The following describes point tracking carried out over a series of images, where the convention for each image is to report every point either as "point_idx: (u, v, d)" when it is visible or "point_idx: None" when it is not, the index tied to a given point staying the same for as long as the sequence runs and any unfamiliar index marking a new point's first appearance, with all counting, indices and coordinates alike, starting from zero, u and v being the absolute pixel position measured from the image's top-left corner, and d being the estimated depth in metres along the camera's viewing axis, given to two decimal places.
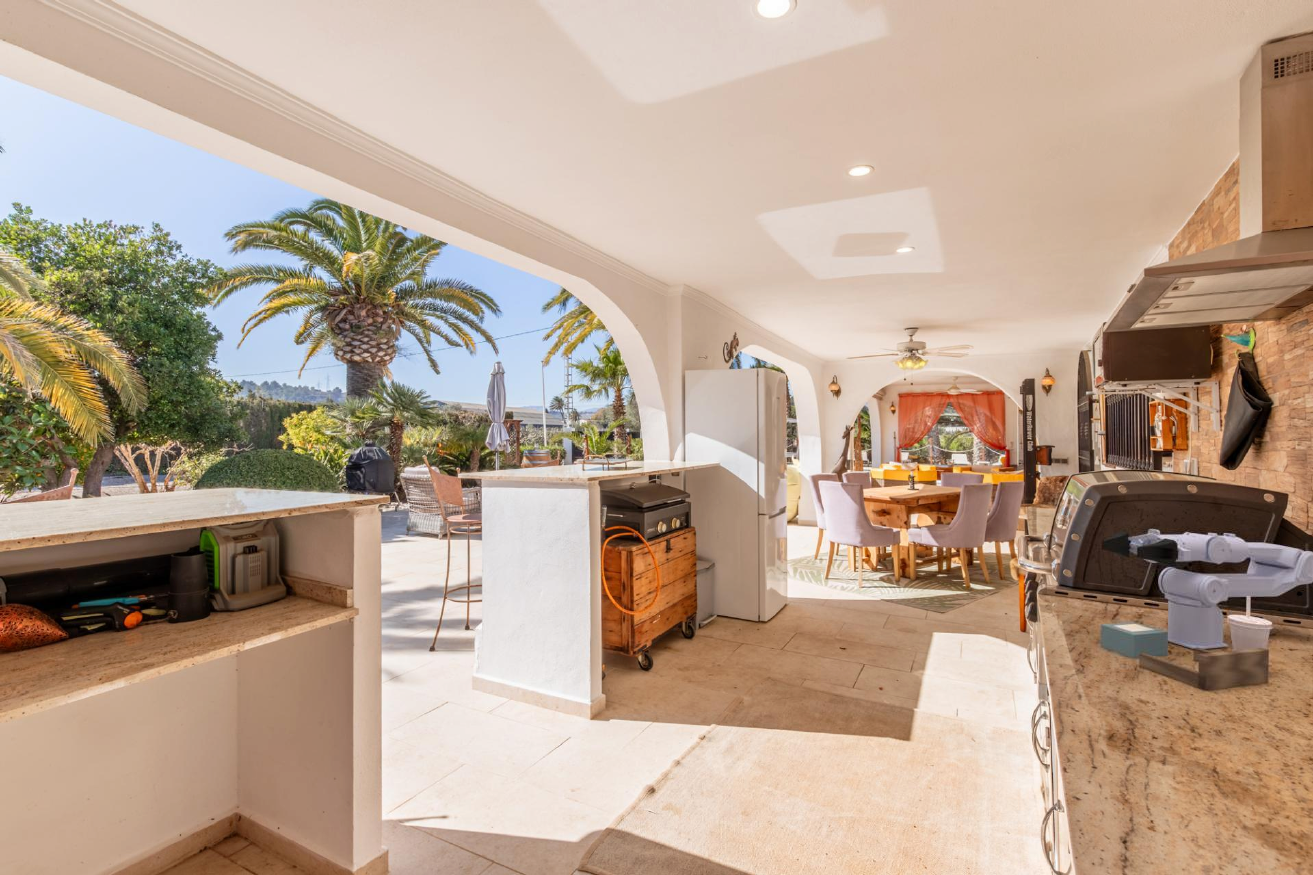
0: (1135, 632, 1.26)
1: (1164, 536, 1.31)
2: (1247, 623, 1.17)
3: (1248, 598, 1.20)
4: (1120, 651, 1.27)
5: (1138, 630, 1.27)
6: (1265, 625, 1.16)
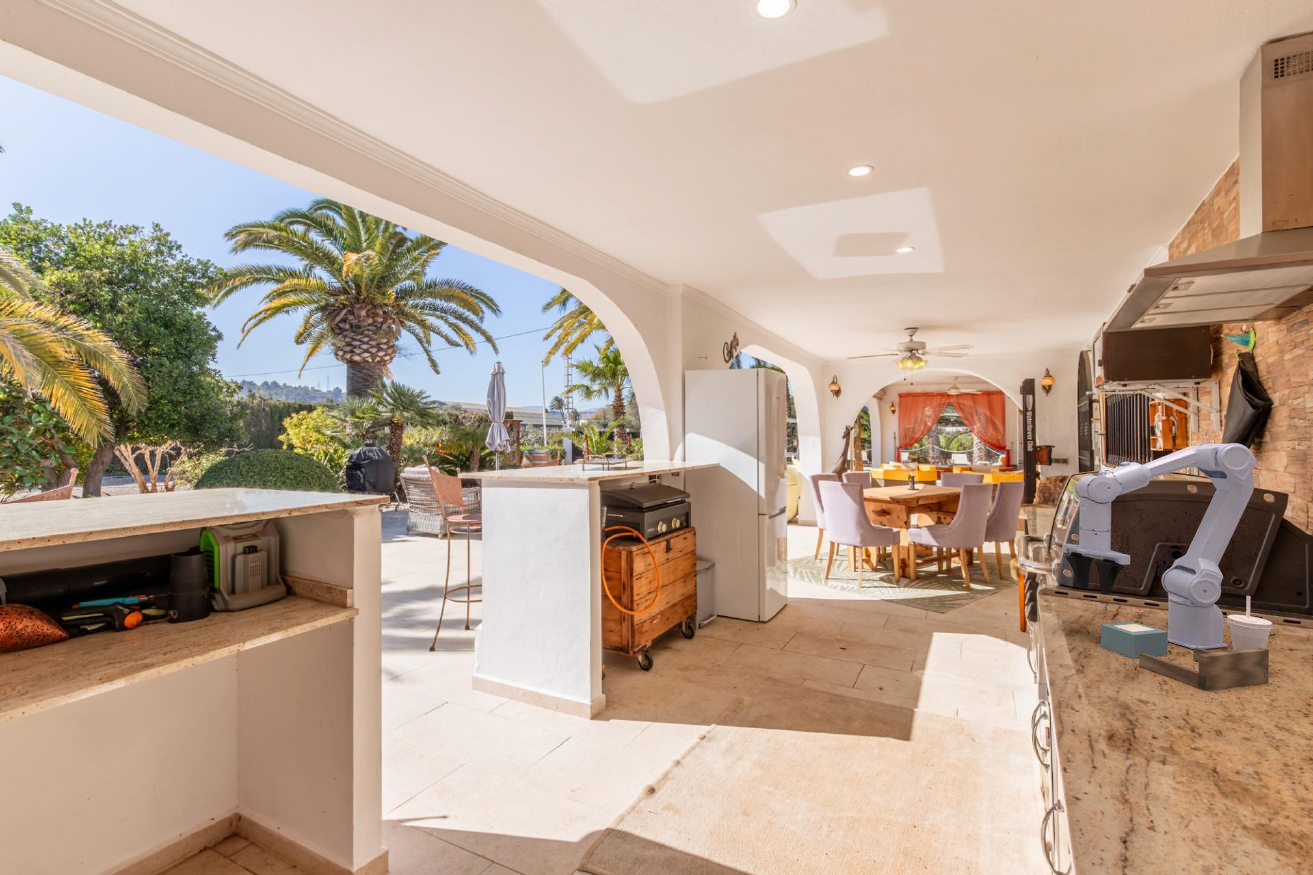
0: (1135, 632, 1.26)
1: (1088, 544, 1.36)
2: (1247, 623, 1.17)
3: (1248, 598, 1.20)
4: (1120, 651, 1.27)
5: (1138, 630, 1.27)
6: (1265, 625, 1.16)
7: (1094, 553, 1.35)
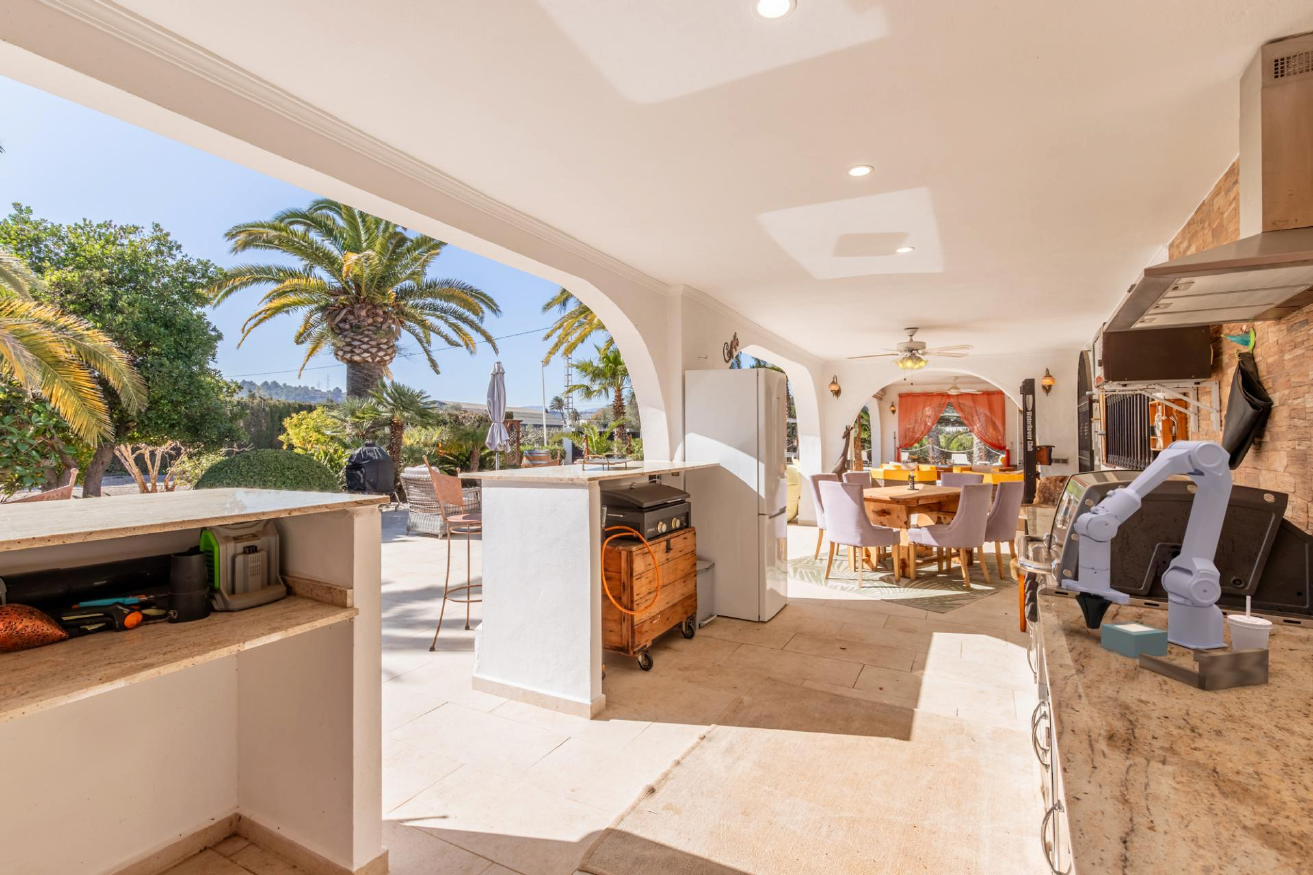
0: (1135, 632, 1.26)
1: (1088, 582, 1.36)
2: (1247, 623, 1.17)
3: (1248, 598, 1.20)
4: (1120, 651, 1.27)
5: (1138, 630, 1.27)
6: (1265, 625, 1.16)
7: (1093, 591, 1.35)
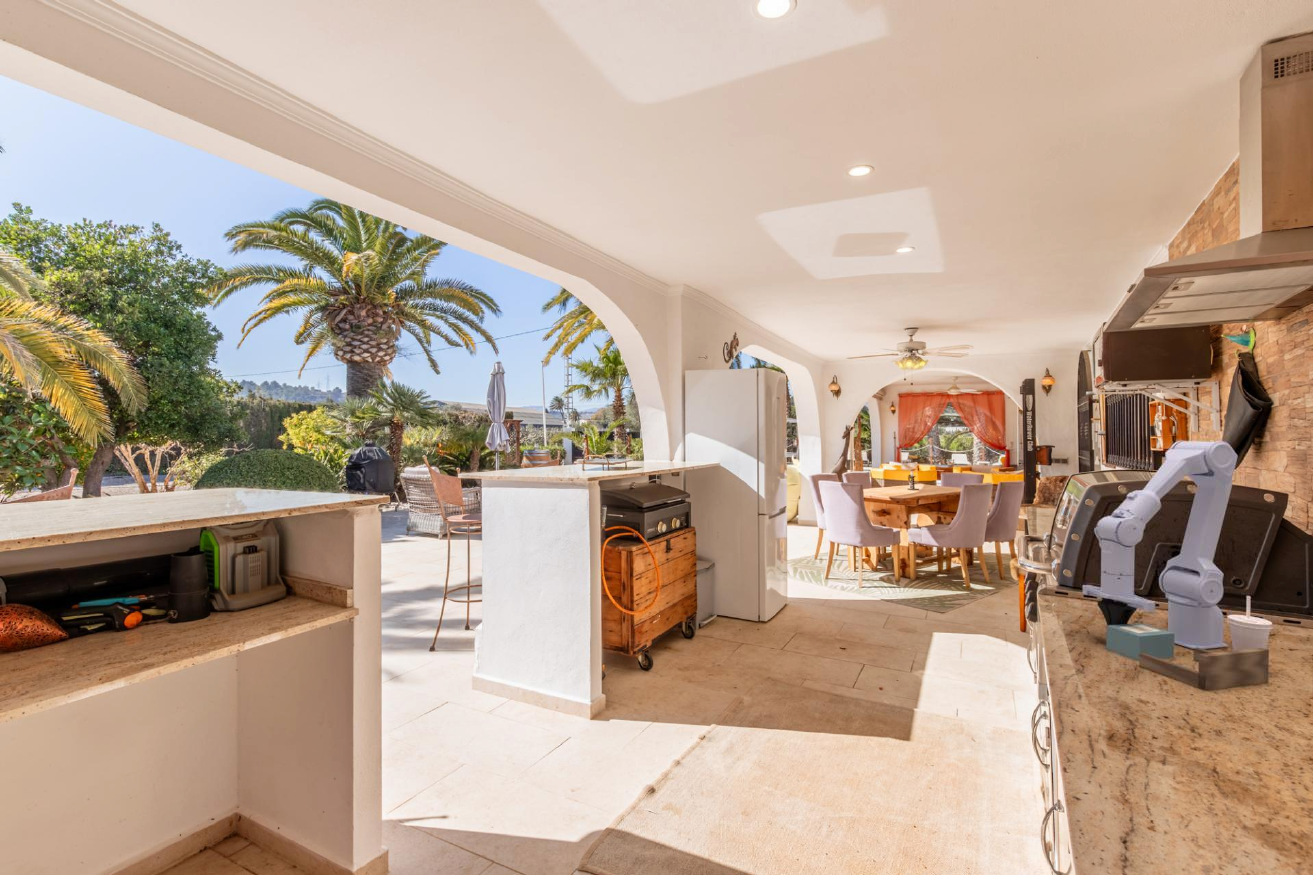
0: (1141, 633, 1.25)
1: (1111, 588, 1.31)
2: (1247, 623, 1.17)
3: (1248, 598, 1.20)
4: (1126, 652, 1.26)
5: (1144, 631, 1.26)
6: (1265, 625, 1.16)
7: (1117, 598, 1.30)
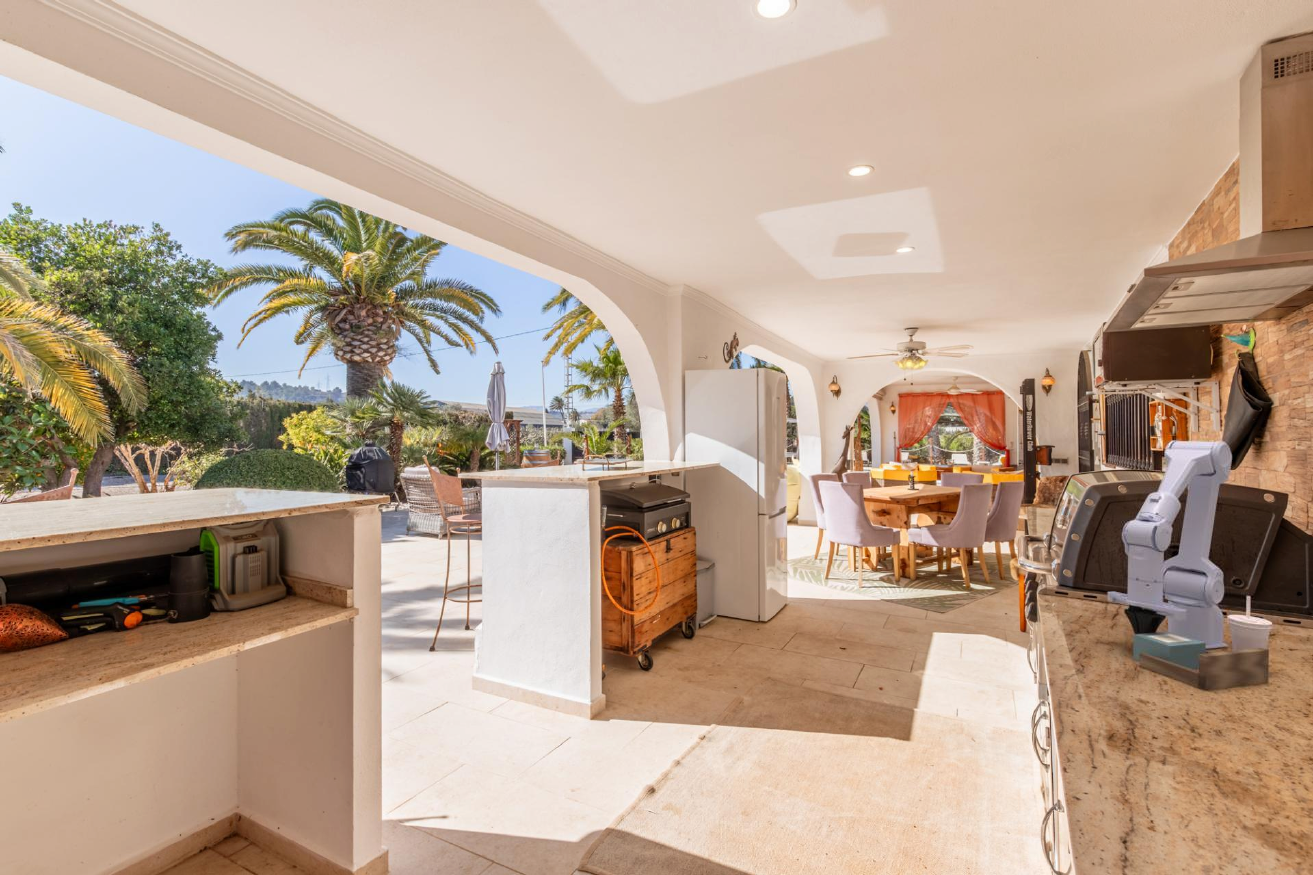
0: (1171, 643, 1.19)
1: (1139, 595, 1.25)
2: (1247, 623, 1.17)
3: (1248, 598, 1.20)
4: None
5: (1174, 641, 1.20)
6: (1265, 625, 1.16)
7: (1145, 606, 1.24)
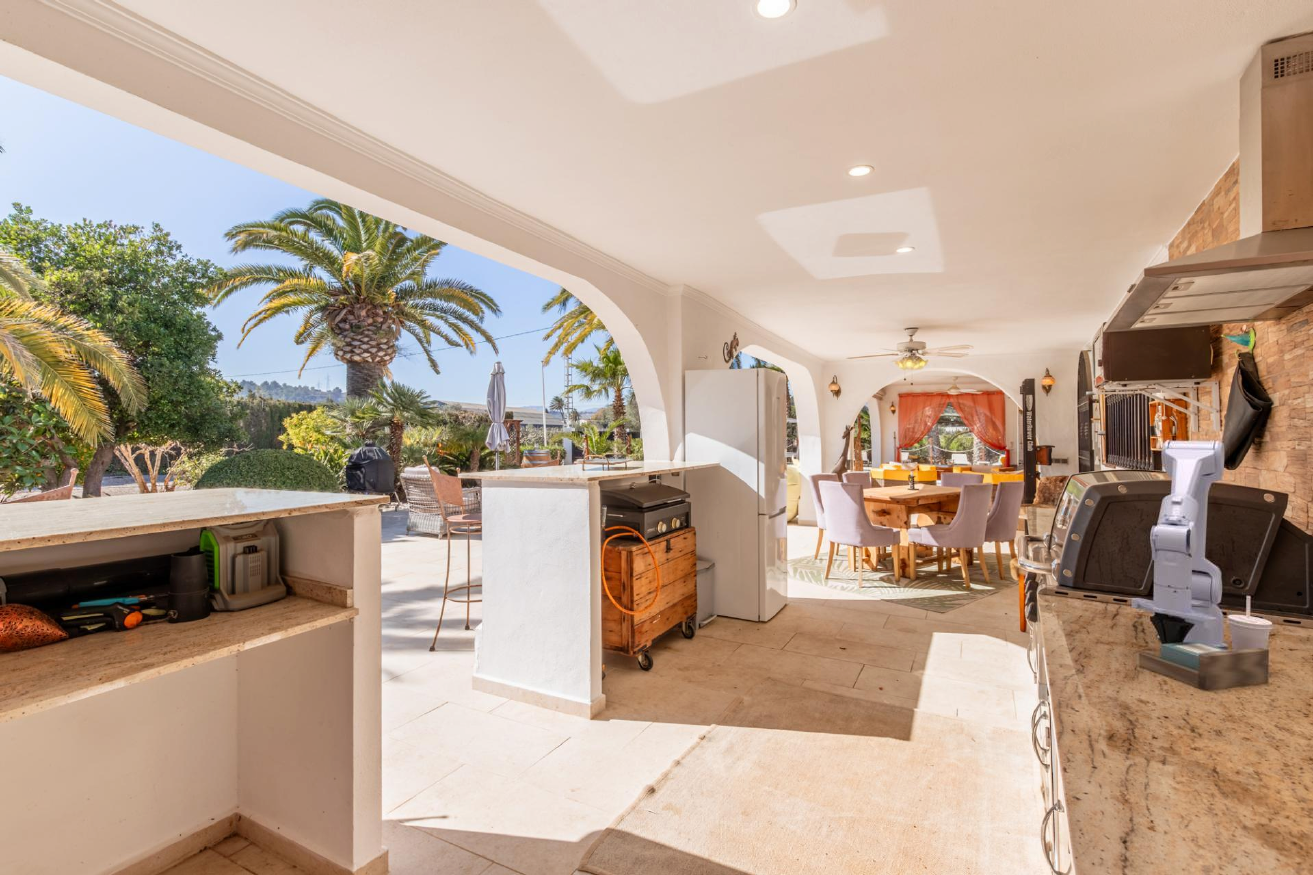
0: (1201, 653, 1.14)
1: (1166, 602, 1.20)
2: (1247, 623, 1.17)
3: (1248, 598, 1.20)
4: None
5: (1204, 651, 1.15)
6: (1265, 625, 1.16)
7: (1173, 613, 1.19)
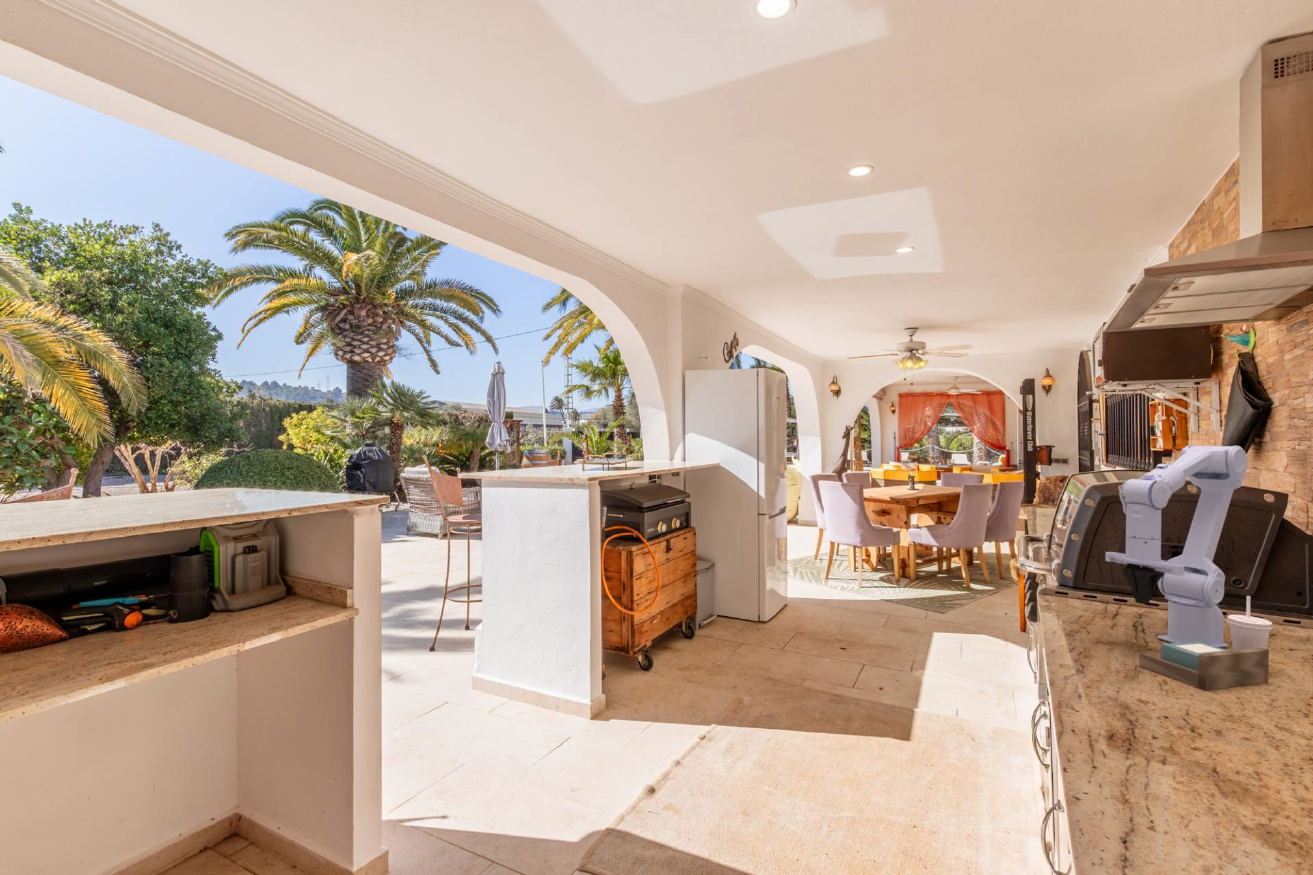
0: (1201, 653, 1.14)
1: (1137, 553, 1.26)
2: (1247, 623, 1.17)
3: (1248, 598, 1.20)
4: None
5: (1204, 651, 1.15)
6: (1265, 625, 1.16)
7: (1144, 563, 1.25)
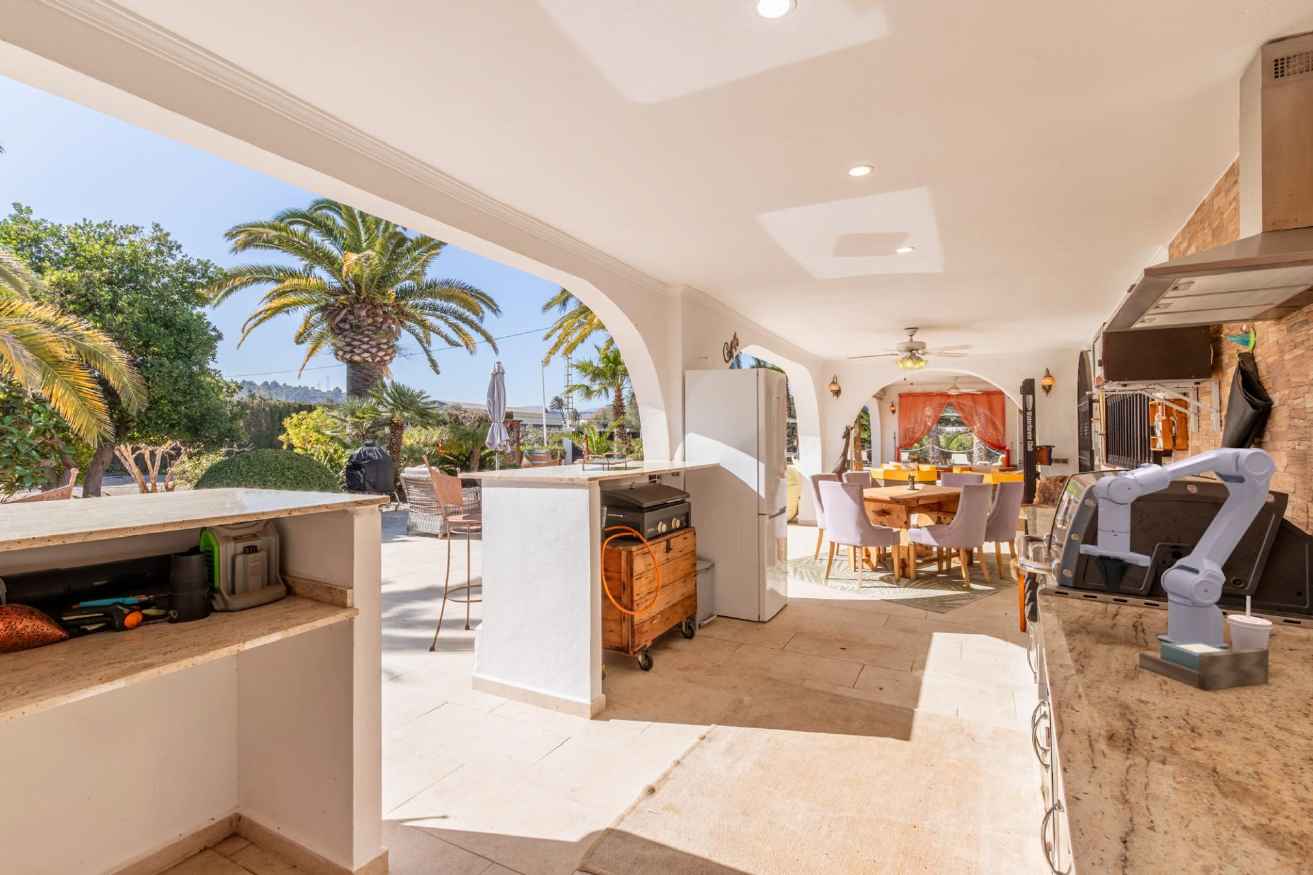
0: (1200, 653, 1.14)
1: (1107, 545, 1.35)
2: (1247, 623, 1.17)
3: (1248, 598, 1.20)
4: None
5: (1204, 651, 1.15)
6: (1265, 625, 1.16)
7: (1113, 554, 1.34)
